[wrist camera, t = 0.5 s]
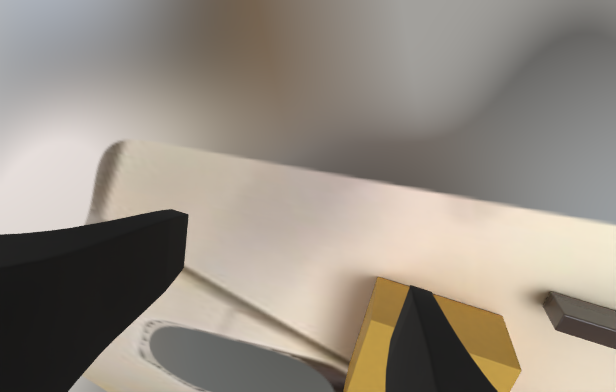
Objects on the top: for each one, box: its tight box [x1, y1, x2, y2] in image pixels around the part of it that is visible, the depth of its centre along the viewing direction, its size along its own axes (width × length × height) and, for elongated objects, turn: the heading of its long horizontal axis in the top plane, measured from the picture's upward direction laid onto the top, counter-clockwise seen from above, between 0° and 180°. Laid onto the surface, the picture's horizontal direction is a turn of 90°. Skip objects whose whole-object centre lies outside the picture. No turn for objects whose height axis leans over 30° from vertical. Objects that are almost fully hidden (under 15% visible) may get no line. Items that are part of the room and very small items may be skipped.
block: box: [344, 277, 521, 392], centre depth 21 cm, size 7×7×4 cm
